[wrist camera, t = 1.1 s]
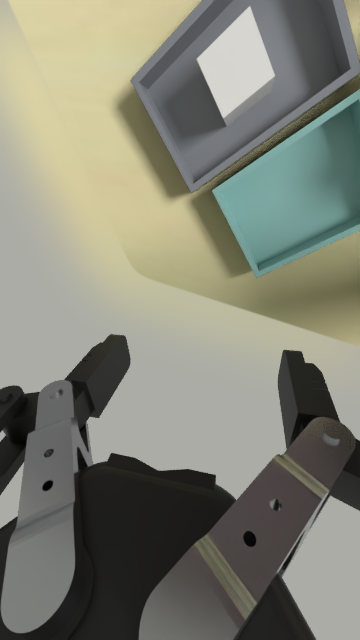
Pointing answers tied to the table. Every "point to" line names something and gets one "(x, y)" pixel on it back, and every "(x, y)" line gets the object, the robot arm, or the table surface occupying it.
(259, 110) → the bin
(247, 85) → the stone block
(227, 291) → the table surface
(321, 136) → the bin
